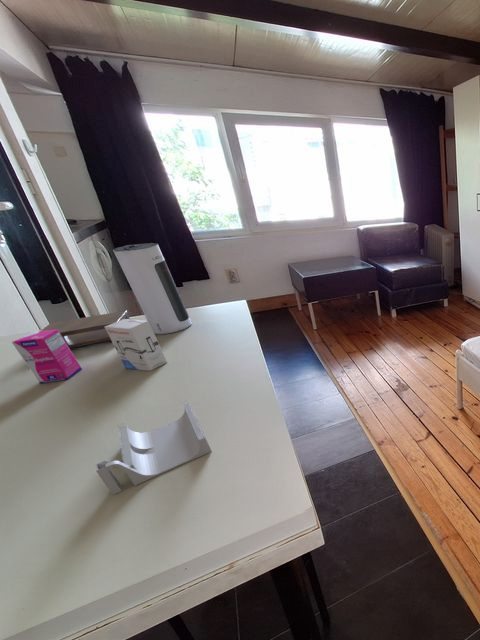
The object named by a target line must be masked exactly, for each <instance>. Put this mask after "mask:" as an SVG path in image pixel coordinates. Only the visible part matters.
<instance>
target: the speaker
mask: <svg viewBox="0 0 480 640" xmlns="http://www.w3.org/2000/svg"><path fill="white" fill-rule="evenodd" d="M112 252H113V253H114V255H115V257H116V260H117V262H118V263H119V266H120V268H121V270H122V272H123V274H124V276H125V278H126V280H127V282H128V284H129V287H130V288H131V290H132V293H133V294H134V296H135V299H136V300H137V303H138V305H139V306H140V309H141V310H142V313H143V314H144V317H145V319H146V321H148V322H149V324H150V326H151V328H152V330H153V332H154V334H155V335H169V334H174V333H177V332H180V331H183V330H186V329H188V328H189V327H191V326H192V325H193V322H192V320H191V317H190V316H189V313H188V310H187V308H186V306H185V304H184V302H183V299H182V297H181V294H180V292H179V290H178V287H177V286H176V283H175V281H174V278H173V276H172V274H171V271H170V269H169V267H168V264H167V261H166V259H165V257H164V255H163V253H162V251H161V248H160V246H159V244H158V243H153V242H150V243H139V244H127V245H123V246H120V247H116V248H114V249H113V250H112Z"/></svg>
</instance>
